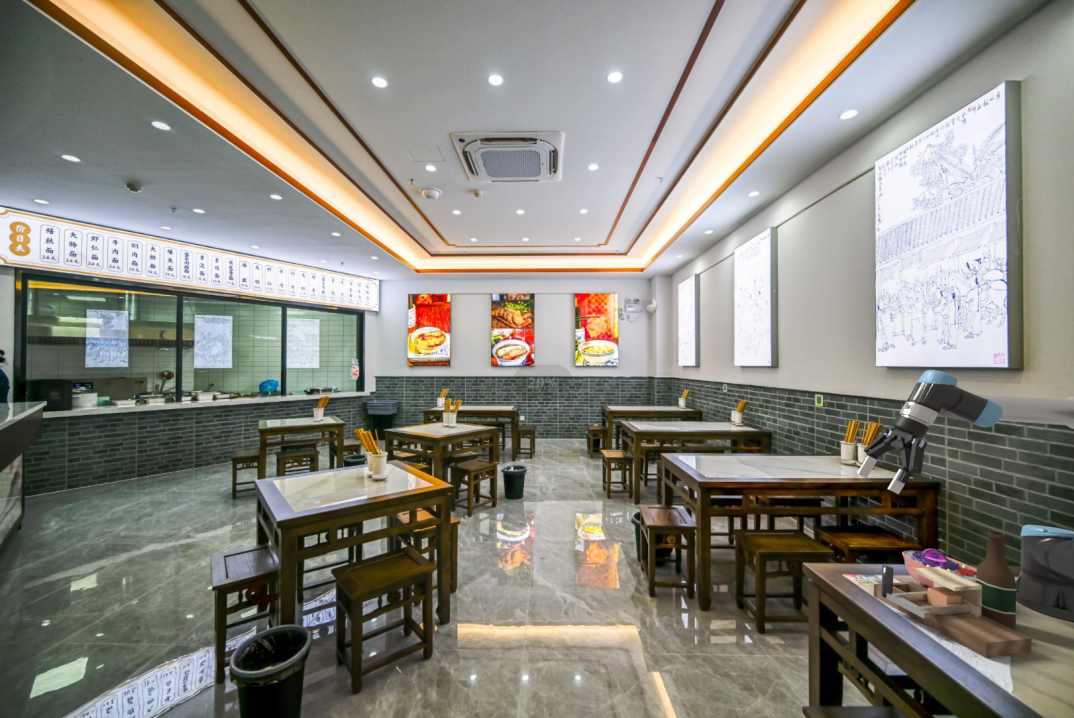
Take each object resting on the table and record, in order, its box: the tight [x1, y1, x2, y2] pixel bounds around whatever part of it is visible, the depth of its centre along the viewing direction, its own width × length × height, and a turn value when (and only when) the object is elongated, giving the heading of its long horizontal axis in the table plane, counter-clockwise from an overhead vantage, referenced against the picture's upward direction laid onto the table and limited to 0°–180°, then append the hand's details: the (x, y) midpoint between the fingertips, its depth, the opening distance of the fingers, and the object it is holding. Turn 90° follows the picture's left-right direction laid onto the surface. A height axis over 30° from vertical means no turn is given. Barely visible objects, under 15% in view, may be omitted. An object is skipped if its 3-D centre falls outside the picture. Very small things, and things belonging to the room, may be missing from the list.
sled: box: [881, 564, 969, 619], centre depth 112 cm, size 16×11×8 cm
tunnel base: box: [873, 581, 1032, 659], centre depth 111 cm, size 14×26×4 cm, turn 11°
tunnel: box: [913, 567, 982, 617], centre depth 112 cm, size 9×10×8 cm
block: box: [927, 587, 962, 606], centre depth 112 cm, size 5×4×4 cm
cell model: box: [901, 548, 977, 588], centre depth 128 cm, size 17×20×11 cm
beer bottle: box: [976, 530, 1017, 631], centre depth 112 cm, size 8×8×24 cm
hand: (876, 483), depth 123 cm, fingers open, 13 cm apart
